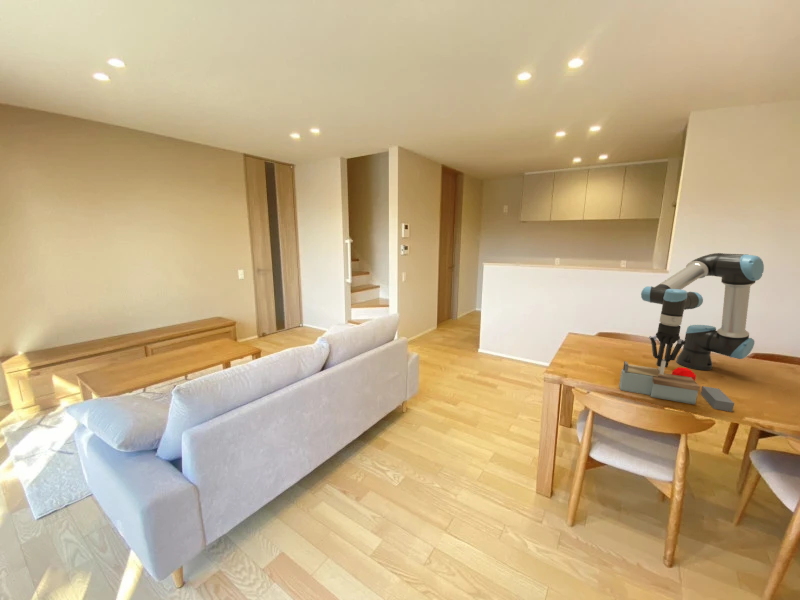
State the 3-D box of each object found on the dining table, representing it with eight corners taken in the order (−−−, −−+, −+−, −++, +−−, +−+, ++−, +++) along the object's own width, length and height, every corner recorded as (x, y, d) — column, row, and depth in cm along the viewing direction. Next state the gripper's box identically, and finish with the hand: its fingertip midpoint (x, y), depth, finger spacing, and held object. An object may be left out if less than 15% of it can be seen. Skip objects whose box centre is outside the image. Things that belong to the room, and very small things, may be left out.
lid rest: (700, 394, 153) (702, 386, 152) (717, 396, 151) (719, 388, 150) (713, 408, 141) (715, 400, 140) (732, 411, 138) (734, 403, 137)
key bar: (624, 369, 157) (625, 364, 157) (656, 374, 152) (657, 368, 152) (625, 371, 155) (626, 365, 154) (657, 376, 150) (659, 370, 149)
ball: (686, 380, 167) (689, 366, 165) (696, 388, 159) (699, 373, 157) (668, 379, 168) (671, 365, 167) (677, 386, 161) (680, 371, 159)
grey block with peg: (619, 386, 160) (623, 361, 157) (647, 391, 156) (652, 365, 153) (620, 390, 157) (624, 364, 154) (649, 395, 152) (654, 368, 149)
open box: (646, 389, 158) (648, 375, 156) (688, 396, 151) (691, 382, 150) (650, 397, 150) (653, 383, 149) (695, 404, 144) (698, 390, 142)
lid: (648, 375, 157) (648, 371, 156) (690, 381, 150) (691, 377, 150) (654, 383, 148) (654, 379, 148) (699, 391, 142) (700, 386, 141)
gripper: (654, 324, 144) (645, 373, 150) (691, 328, 139) (681, 379, 144) (649, 320, 151) (641, 367, 156) (685, 323, 146) (675, 372, 151)
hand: (660, 373), depth 150 cm, fingers closed
